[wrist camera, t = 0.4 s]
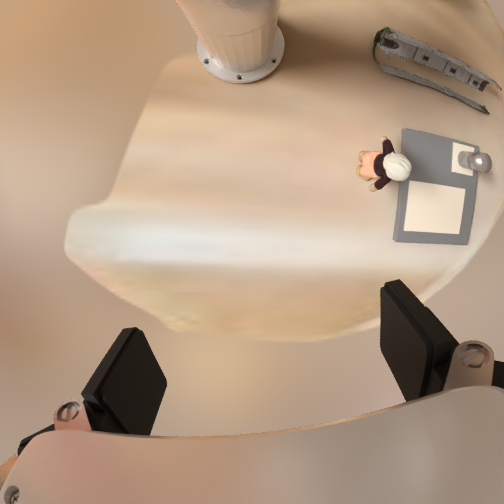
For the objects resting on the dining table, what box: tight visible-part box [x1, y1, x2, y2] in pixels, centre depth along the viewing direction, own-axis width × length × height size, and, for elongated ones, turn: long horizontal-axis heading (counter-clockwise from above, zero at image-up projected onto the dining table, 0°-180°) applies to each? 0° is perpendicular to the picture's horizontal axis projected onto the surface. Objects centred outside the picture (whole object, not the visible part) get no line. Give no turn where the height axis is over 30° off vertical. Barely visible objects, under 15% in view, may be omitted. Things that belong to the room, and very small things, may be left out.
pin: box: [458, 151, 492, 173], centre depth 34 cm, size 3×3×6 cm
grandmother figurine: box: [356, 136, 412, 192], centre depth 34 cm, size 8×4×13 cm, turn 1°
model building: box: [373, 27, 502, 114], centre depth 32 cm, size 7×7×25 cm
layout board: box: [393, 129, 479, 245], centre depth 40 cm, size 18×16×2 cm
